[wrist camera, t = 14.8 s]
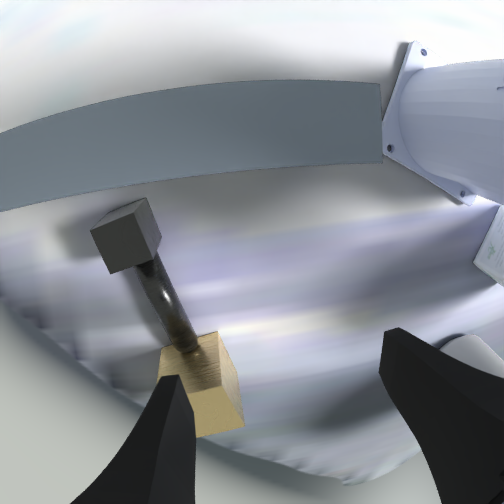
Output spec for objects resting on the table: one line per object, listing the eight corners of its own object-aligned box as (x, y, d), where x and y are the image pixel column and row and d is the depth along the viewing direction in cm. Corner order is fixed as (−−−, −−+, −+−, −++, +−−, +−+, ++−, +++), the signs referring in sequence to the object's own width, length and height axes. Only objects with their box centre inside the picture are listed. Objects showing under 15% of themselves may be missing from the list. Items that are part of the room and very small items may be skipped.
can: (458, 317, 24) (544, 402, 13) (484, 343, 26) (552, 414, 15) (404, 380, 25) (468, 477, 14) (438, 395, 28) (493, 474, 17)
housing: (25, 139, 14) (-46, 153, 8) (320, 96, 16) (379, 83, 10) (32, 188, 15) (-34, 221, 9) (323, 148, 17) (382, 163, 11)
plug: (96, 217, 17) (62, 249, 12) (159, 192, 17) (141, 217, 12) (185, 386, 22) (184, 439, 17) (237, 372, 22) (245, 426, 17)
